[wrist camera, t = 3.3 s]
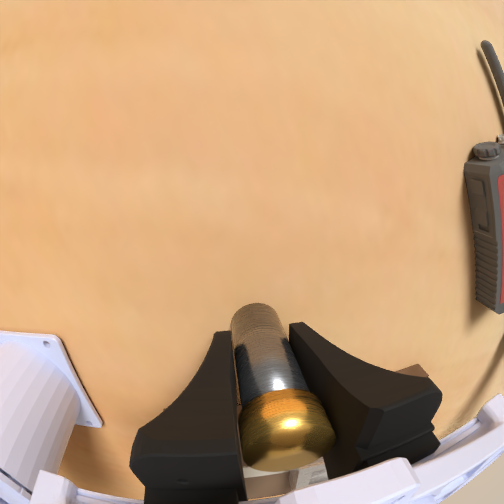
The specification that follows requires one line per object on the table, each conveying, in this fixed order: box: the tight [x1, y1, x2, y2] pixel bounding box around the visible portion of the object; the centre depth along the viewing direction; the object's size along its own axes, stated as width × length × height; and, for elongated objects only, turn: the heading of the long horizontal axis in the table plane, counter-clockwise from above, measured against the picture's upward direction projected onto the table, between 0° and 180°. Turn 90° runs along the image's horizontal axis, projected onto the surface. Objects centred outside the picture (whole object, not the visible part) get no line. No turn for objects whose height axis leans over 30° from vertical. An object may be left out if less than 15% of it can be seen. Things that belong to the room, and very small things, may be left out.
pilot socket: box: [289, 456, 328, 491], centre depth 16 cm, size 6×6×2 cm
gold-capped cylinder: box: [231, 303, 336, 472], centre depth 10 cm, size 3×3×8 cm
